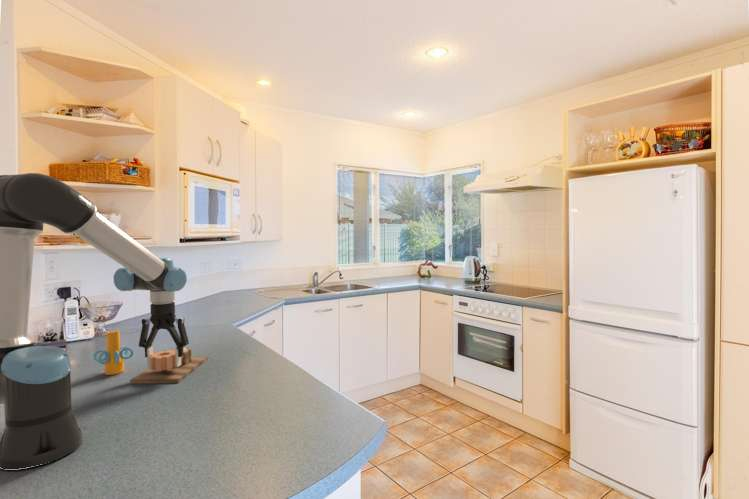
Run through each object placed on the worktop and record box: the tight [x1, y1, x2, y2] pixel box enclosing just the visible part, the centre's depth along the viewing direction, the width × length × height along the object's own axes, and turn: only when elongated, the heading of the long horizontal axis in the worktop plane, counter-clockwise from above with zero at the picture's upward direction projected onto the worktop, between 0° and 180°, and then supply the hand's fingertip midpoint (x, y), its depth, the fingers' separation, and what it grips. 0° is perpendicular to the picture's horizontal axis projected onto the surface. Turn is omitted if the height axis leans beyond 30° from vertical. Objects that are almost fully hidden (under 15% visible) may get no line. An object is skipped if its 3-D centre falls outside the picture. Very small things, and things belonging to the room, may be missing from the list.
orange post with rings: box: [93, 329, 134, 376], centre depth 142 cm, size 12×10×15 cm
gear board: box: [129, 346, 208, 384], centre depth 144 cm, size 24×16×7 cm, turn 1°
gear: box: [150, 349, 176, 371], centre depth 139 cm, size 9×9×4 cm
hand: (164, 366), depth 139 cm, fingers closed on gear, 9 cm apart
